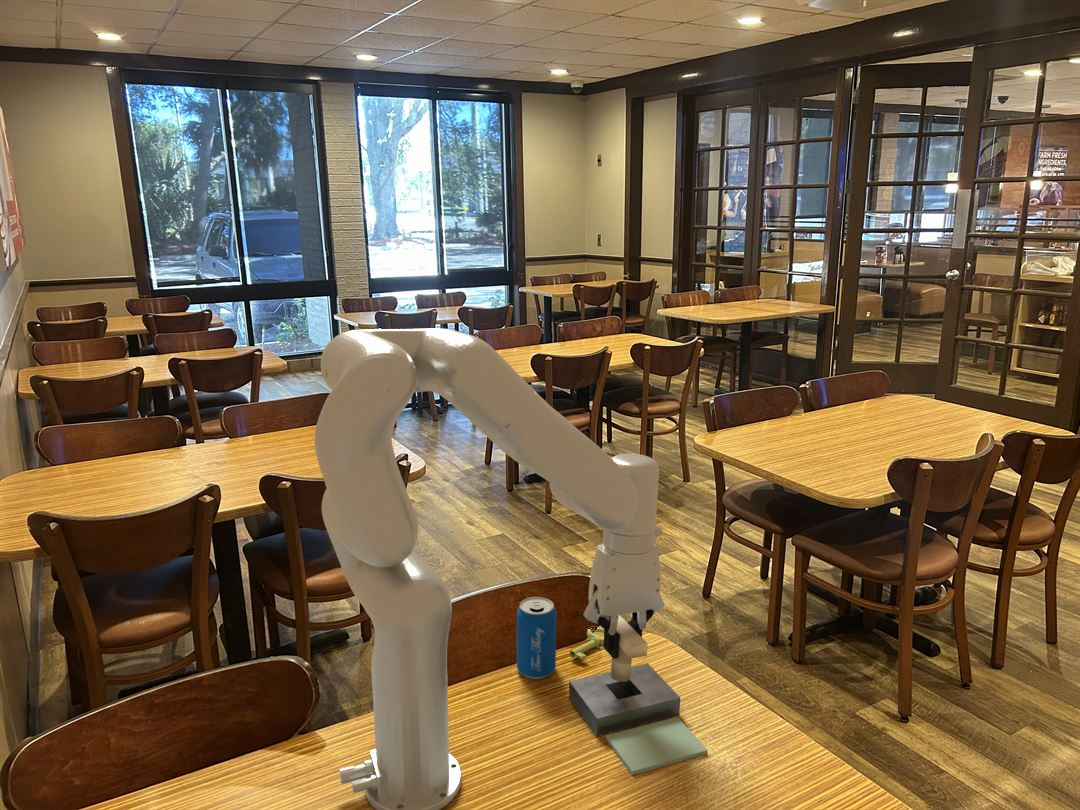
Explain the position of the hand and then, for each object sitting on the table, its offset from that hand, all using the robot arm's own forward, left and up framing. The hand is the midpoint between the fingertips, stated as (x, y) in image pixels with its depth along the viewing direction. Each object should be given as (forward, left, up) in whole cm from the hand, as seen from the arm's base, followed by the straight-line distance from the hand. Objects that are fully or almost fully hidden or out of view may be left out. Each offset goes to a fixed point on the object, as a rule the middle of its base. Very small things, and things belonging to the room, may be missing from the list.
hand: (622, 650), depth 116 cm
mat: (+1, -10, -10) cm, 14 cm away
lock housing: (+1, 0, -10) cm, 10 cm away
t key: (0, 0, -4) cm, 4 cm away
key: (+4, +18, -11) cm, 21 cm away
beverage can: (-8, +14, -10) cm, 19 cm away
